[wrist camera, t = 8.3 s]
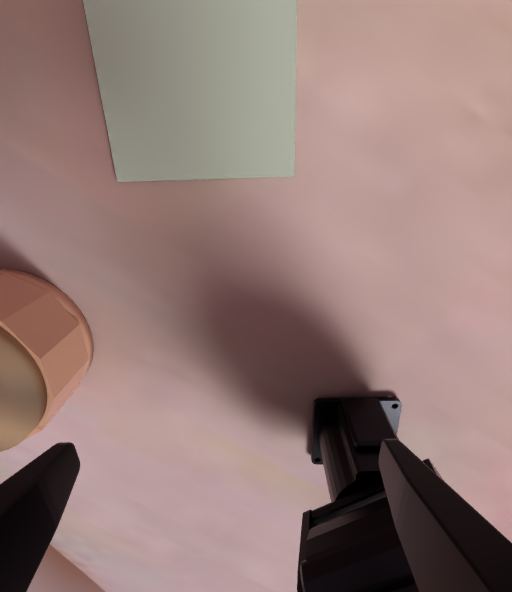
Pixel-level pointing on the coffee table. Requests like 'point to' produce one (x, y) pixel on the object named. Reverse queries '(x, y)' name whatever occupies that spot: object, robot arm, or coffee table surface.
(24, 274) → the bowl
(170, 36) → the mat
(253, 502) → the coffee table surface
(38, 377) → the lid
